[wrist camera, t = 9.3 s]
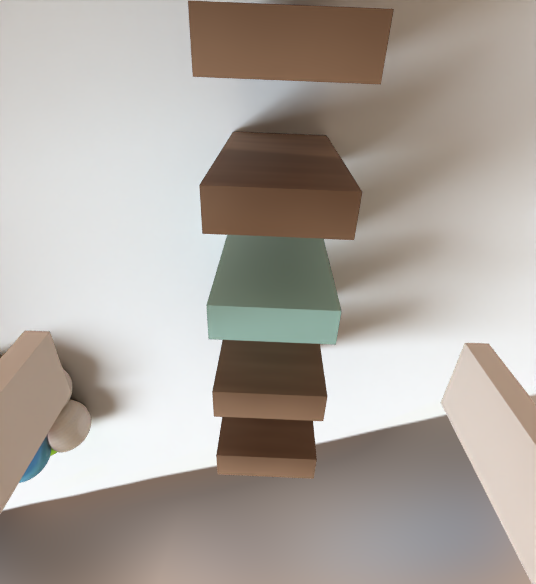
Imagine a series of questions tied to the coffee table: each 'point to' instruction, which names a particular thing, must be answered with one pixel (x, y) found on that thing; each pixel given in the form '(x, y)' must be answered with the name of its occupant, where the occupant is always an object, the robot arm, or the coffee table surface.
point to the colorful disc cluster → (61, 434)
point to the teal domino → (274, 291)
